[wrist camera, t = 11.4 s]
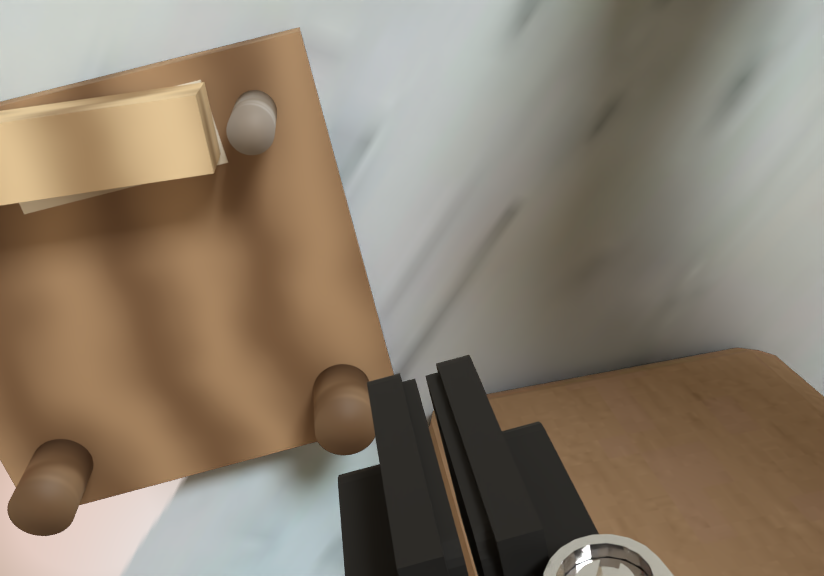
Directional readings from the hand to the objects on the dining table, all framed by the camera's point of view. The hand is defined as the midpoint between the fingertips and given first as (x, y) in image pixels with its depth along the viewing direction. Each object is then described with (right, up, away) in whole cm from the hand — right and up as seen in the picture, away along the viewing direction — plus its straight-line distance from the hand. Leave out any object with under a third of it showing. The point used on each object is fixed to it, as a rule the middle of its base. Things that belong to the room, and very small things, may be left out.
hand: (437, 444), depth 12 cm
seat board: (-14, +3, +29) cm, 32 cm away
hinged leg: (-15, +10, +23) cm, 29 cm away
